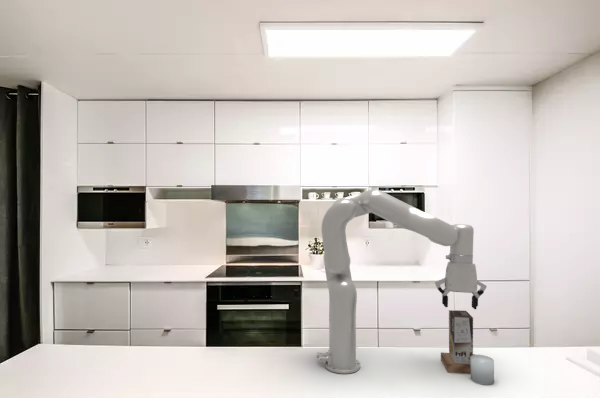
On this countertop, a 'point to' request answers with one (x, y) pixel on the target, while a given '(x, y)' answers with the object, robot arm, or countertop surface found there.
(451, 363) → the walnut slab
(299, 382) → the countertop surface
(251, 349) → the countertop surface
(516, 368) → the countertop surface
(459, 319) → the coffee box
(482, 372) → the pale grey rounded cylinder
